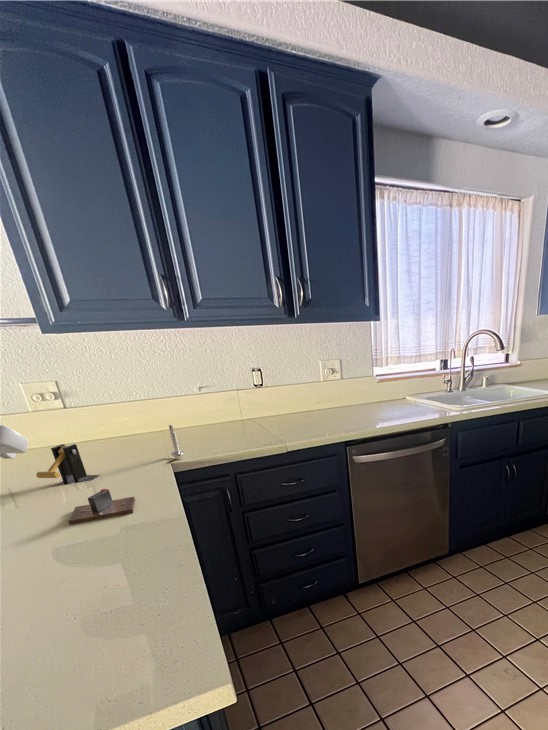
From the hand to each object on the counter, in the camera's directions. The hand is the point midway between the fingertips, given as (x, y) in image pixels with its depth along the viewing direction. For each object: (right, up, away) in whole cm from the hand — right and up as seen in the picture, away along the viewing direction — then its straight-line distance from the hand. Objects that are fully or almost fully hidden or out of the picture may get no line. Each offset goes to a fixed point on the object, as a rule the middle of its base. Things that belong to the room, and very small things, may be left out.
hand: (10, 456), depth 118 cm
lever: (+2, -1, +15) cm, 15 cm away
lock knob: (+29, -14, -6) cm, 33 cm away
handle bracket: (+3, -6, +22) cm, 23 cm away
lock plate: (+29, -17, -4) cm, 34 cm away
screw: (+25, +5, +44) cm, 51 cm away
